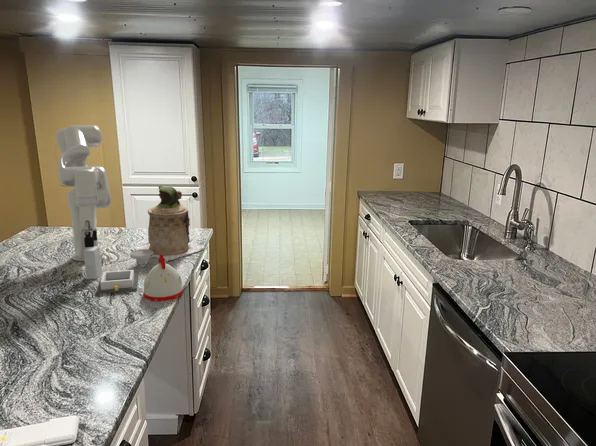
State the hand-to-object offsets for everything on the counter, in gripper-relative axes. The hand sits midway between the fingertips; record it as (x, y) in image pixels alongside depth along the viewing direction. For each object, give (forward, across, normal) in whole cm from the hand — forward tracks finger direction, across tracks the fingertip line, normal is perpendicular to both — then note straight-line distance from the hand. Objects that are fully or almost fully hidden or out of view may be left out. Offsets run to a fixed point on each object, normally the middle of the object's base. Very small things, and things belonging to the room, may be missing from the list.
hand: (91, 243), depth 173 cm
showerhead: (+14, -9, +18) cm, 24 cm away
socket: (+14, +11, +10) cm, 21 cm away
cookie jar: (+14, -28, +30) cm, 43 cm away
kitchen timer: (+15, +23, +26) cm, 38 cm away
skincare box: (+14, -1, 0) cm, 14 cm away
